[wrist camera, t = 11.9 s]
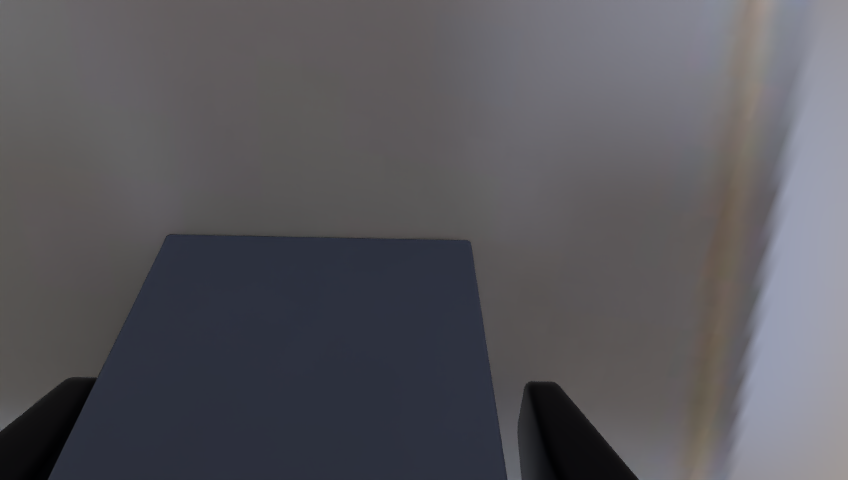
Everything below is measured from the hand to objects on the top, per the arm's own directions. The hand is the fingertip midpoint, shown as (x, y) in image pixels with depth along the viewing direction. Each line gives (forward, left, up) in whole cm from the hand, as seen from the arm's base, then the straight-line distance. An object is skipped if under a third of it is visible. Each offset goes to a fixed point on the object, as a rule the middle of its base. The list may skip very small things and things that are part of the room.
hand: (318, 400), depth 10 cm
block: (0, 0, -1) cm, 1 cm away
